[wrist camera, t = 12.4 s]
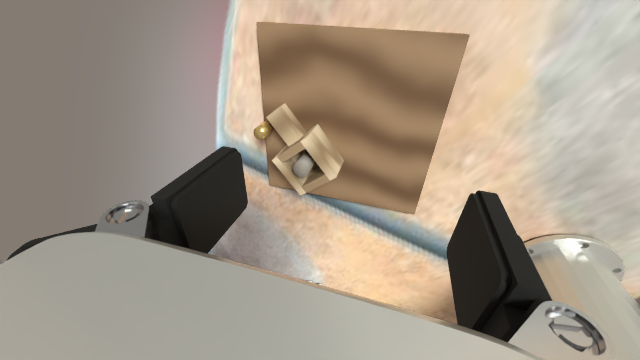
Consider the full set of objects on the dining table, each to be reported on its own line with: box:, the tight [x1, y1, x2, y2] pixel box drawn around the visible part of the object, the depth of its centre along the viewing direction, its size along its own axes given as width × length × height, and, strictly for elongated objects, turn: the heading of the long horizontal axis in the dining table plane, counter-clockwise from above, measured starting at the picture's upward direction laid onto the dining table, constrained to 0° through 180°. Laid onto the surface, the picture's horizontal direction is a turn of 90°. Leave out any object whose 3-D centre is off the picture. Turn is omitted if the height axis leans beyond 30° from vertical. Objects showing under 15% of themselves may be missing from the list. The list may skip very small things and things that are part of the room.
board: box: [257, 22, 469, 214], centre depth 31 cm, size 22×22×6 cm
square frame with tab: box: [266, 103, 344, 196], centre depth 33 cm, size 10×6×4 cm, turn 37°
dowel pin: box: [254, 119, 275, 140], centre depth 34 cm, size 2×2×4 cm
